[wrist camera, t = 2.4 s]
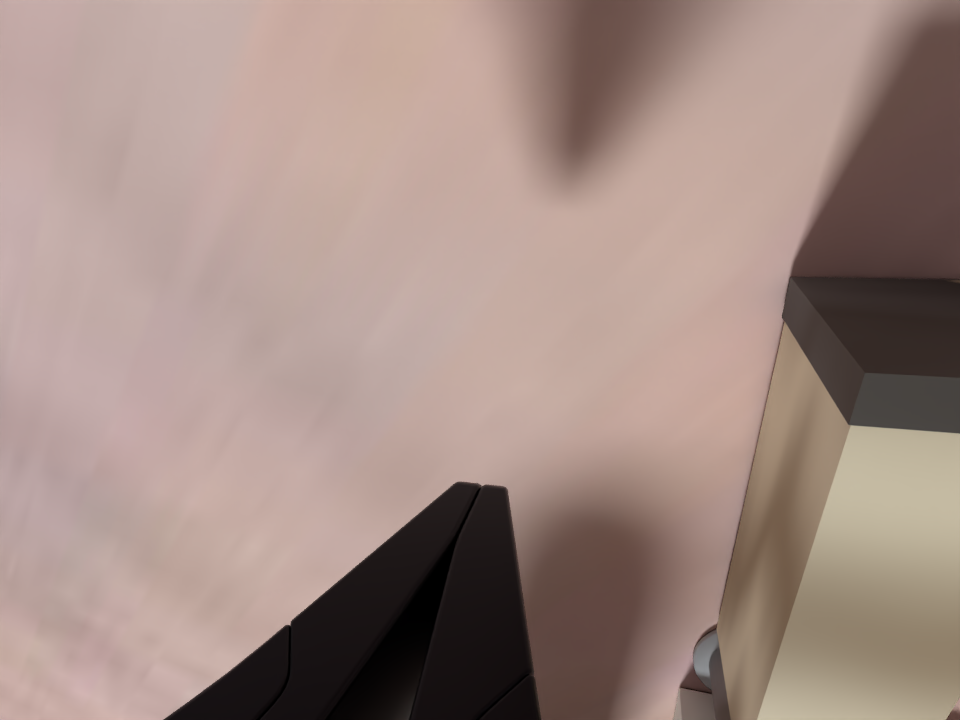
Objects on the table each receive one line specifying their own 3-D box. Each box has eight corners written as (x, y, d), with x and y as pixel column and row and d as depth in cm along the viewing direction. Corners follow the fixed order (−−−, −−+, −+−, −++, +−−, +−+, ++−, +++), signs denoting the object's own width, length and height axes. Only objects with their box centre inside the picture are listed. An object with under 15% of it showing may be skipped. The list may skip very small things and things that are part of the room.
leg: (809, 710, 15) (855, 874, 12) (700, 688, 16) (717, 838, 13) (980, 279, 9) (1161, 389, 6) (790, 276, 10) (864, 372, 7)
